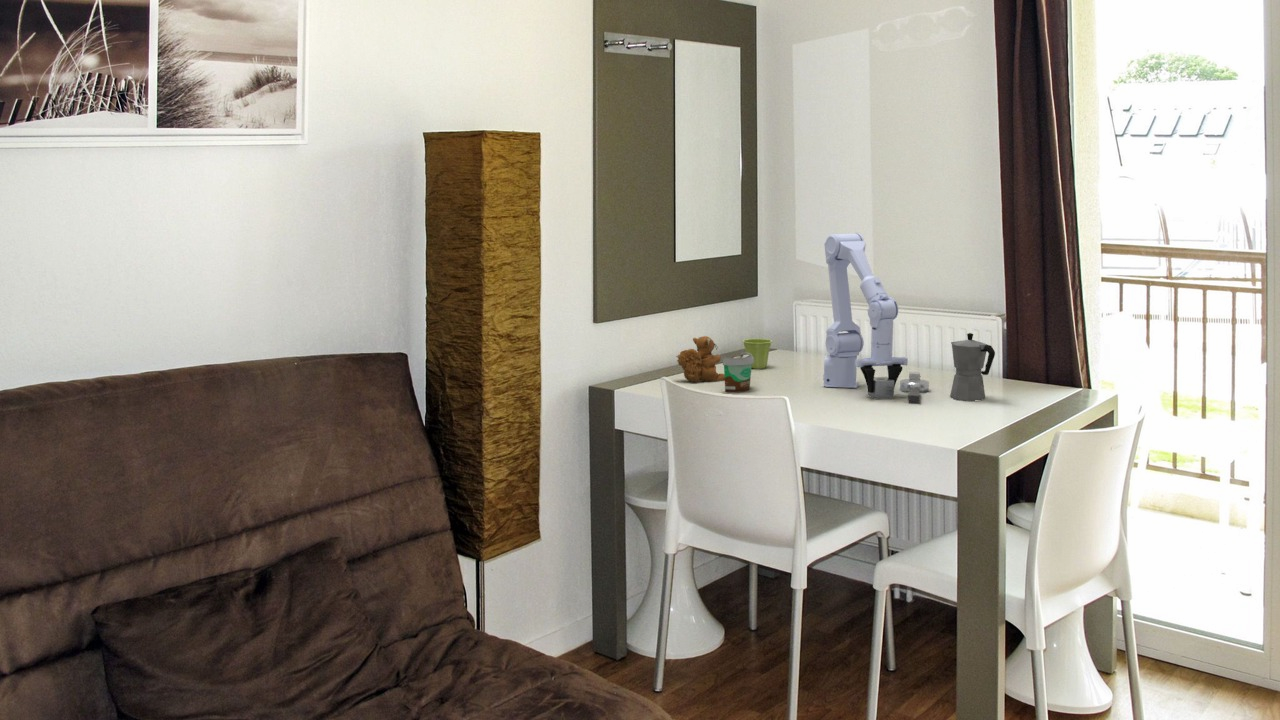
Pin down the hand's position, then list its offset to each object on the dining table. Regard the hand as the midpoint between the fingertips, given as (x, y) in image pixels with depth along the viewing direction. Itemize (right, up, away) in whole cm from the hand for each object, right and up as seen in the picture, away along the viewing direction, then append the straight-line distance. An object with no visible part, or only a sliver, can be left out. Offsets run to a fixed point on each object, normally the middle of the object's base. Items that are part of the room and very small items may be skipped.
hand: (880, 391), depth 299 cm
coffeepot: (+24, -2, -4) cm, 24 cm away
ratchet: (+10, -1, +2) cm, 10 cm away
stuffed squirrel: (-48, +2, +27) cm, 55 cm away
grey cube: (0, -1, 0) cm, 1 cm away
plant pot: (-29, +6, +47) cm, 56 cm away
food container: (-37, 0, +12) cm, 39 cm away
